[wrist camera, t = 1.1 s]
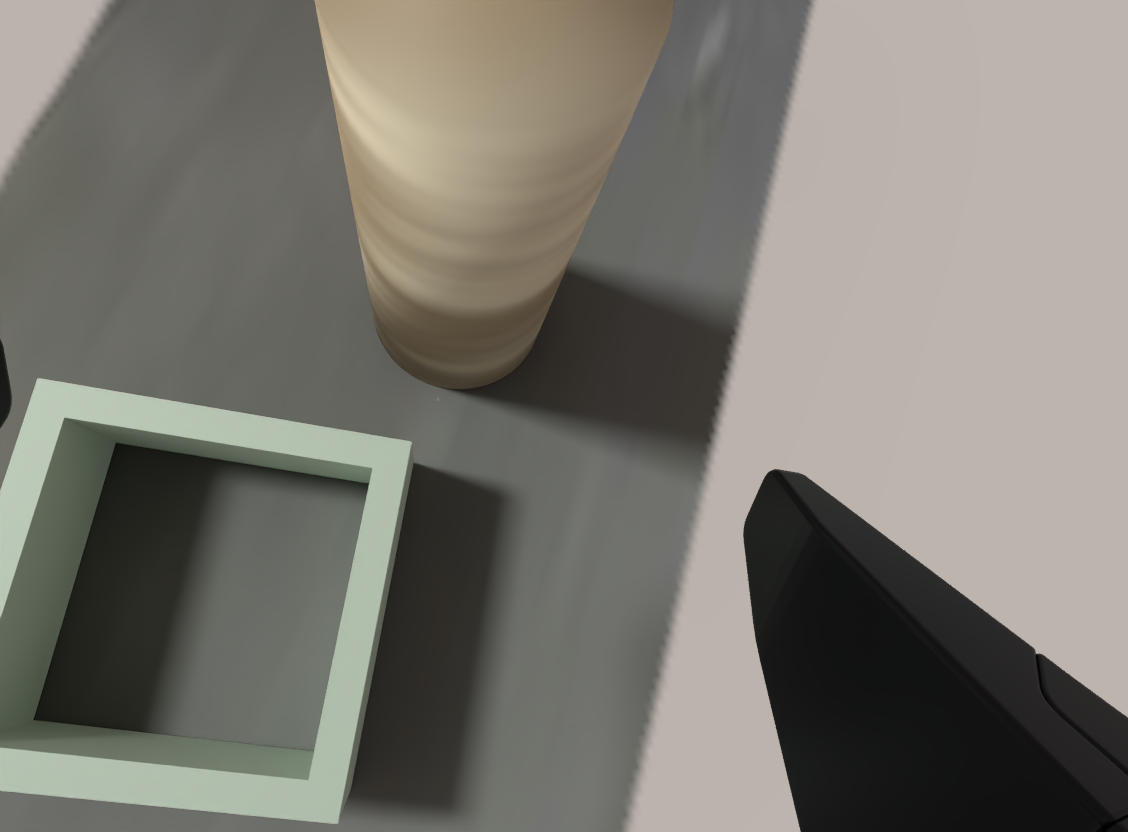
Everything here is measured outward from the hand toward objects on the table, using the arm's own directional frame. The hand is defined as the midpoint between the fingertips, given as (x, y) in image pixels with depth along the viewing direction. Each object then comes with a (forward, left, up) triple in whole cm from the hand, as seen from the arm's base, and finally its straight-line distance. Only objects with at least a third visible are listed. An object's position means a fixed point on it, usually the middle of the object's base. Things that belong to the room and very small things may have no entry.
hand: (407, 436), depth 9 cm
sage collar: (+1, +5, -13) cm, 14 cm away
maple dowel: (+5, -4, -13) cm, 14 cm away
